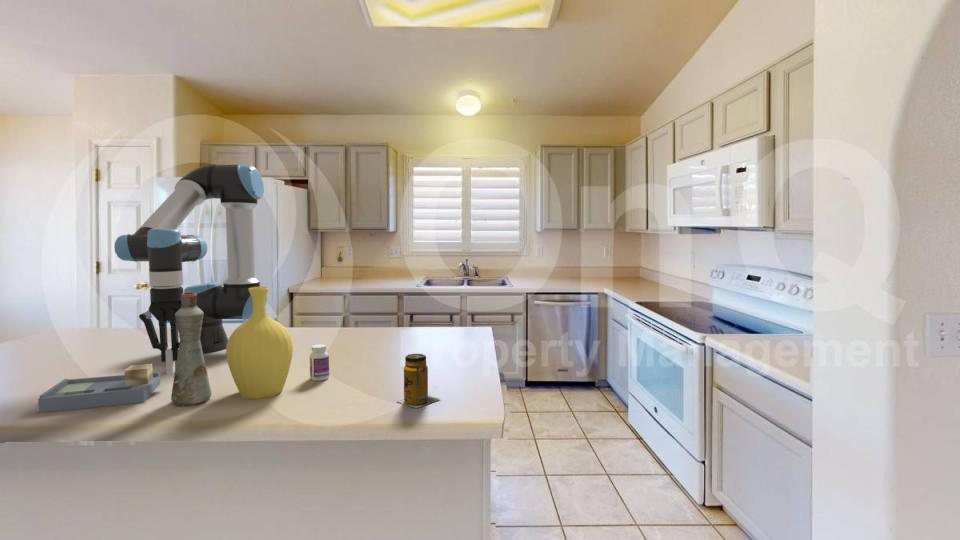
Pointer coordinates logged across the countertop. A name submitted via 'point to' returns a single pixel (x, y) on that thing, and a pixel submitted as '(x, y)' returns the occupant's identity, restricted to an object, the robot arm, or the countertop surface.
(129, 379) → the block
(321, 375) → the pill bottle
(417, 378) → the condiment
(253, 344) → the vase
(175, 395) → the bottle
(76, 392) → the blue gray tray
